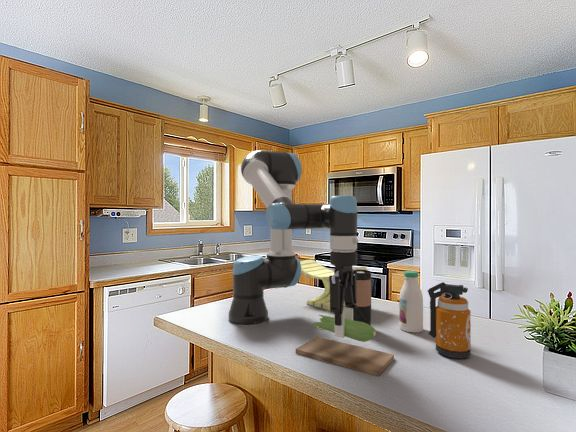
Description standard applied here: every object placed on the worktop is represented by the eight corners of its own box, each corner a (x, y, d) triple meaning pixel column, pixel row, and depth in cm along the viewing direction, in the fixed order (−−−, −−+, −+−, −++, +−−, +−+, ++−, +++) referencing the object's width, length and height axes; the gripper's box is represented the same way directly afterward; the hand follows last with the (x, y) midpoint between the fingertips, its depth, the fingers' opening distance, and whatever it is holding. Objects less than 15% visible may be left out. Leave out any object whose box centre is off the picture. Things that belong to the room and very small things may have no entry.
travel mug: (371, 333, 112) (371, 273, 112) (348, 331, 114) (348, 272, 114) (370, 325, 120) (370, 269, 120) (349, 324, 121) (349, 269, 121)
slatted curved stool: (368, 306, 144) (368, 265, 144) (346, 314, 133) (346, 269, 133) (315, 294, 166) (315, 258, 166) (292, 300, 155) (292, 262, 155)
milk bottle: (423, 327, 118) (423, 270, 118) (422, 334, 111) (422, 274, 111) (400, 324, 121) (400, 269, 121) (398, 331, 114) (398, 272, 114)
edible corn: (367, 329, 85) (376, 320, 89) (309, 316, 100) (318, 309, 103) (371, 347, 86) (380, 338, 89) (313, 332, 101) (322, 324, 104)
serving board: (295, 353, 96) (295, 348, 96) (316, 340, 106) (316, 336, 106) (379, 376, 82) (379, 371, 82) (393, 358, 92) (393, 354, 92)
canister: (469, 363, 90) (469, 288, 90) (425, 353, 96) (425, 283, 95) (471, 351, 97) (471, 282, 97) (430, 343, 103) (430, 278, 103)
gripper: (341, 254, 85) (342, 346, 85) (368, 248, 100) (368, 326, 100) (316, 252, 89) (316, 340, 89) (345, 247, 104) (345, 322, 104)
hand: (344, 333), depth 94 cm, fingers closed on edible corn, 5 cm apart
